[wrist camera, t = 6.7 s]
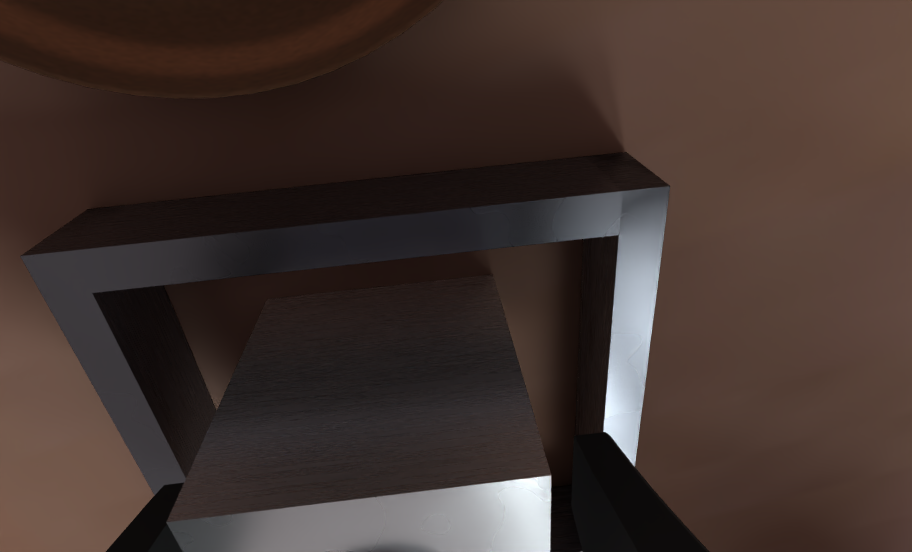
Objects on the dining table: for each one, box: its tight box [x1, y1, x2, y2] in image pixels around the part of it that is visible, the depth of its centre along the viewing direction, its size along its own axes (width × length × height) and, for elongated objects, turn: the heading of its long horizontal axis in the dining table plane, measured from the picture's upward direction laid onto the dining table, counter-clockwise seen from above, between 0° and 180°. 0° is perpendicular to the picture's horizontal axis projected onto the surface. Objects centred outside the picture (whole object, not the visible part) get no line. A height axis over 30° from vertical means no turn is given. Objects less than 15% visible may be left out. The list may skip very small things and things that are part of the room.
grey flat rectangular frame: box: [20, 152, 670, 552], centre depth 14 cm, size 20×11×2 cm, turn 5°
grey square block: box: [166, 275, 551, 552], centre depth 10 cm, size 5×5×6 cm
